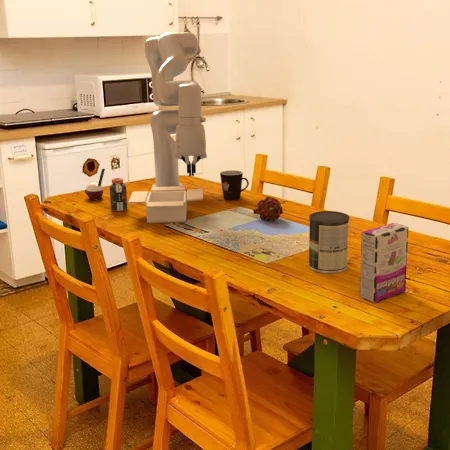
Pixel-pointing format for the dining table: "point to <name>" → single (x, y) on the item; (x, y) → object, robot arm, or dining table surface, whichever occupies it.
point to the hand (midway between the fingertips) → (191, 175)
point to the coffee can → (328, 241)
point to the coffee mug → (232, 184)
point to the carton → (163, 204)
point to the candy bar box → (383, 262)
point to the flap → (194, 194)
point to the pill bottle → (118, 195)
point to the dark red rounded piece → (268, 209)
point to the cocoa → (95, 188)
